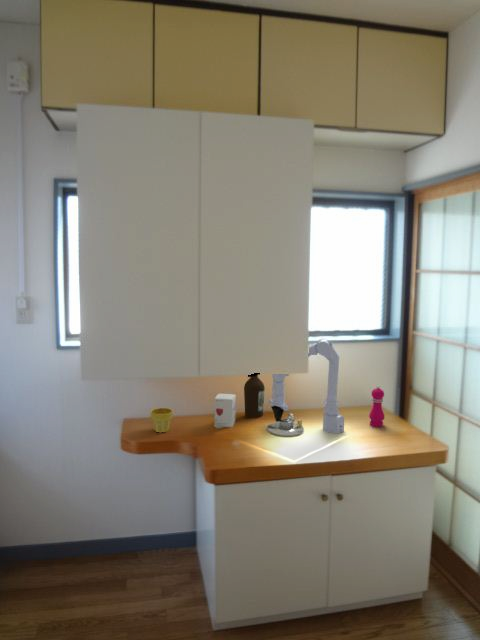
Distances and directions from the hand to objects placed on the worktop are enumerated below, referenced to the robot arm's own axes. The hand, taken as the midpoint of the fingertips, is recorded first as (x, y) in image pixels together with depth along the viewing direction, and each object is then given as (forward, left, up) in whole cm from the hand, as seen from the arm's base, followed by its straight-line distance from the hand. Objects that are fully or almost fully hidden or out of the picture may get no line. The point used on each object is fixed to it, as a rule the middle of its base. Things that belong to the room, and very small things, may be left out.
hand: (278, 421), depth 225 cm
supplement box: (+20, +16, -4) cm, 26 cm away
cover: (-7, +2, -1) cm, 7 cm away
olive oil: (+19, -4, -3) cm, 20 cm away
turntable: (-7, +2, -2) cm, 7 cm away
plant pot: (+36, +42, -4) cm, 56 cm away
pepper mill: (-32, -38, -3) cm, 50 cm away
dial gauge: (-1, -8, -3) cm, 9 cm away
